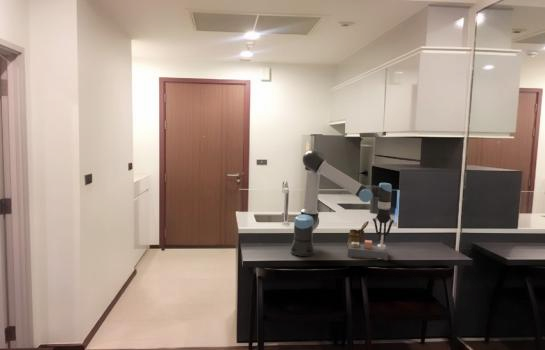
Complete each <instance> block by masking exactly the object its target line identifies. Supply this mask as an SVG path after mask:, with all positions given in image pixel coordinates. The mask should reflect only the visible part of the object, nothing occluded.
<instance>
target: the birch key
mask: <svg viewBox="0 0 545 350" xmlns="http://www.w3.org/2000/svg"><path fill="white" fill-rule="evenodd" d="M351 247H356V248H359V242H352V244H351Z"/></svg>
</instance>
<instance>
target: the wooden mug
mask: <svg viewBox="0 0 545 350" xmlns="http://www.w3.org/2000/svg"><path fill="white" fill-rule="evenodd" d="M369 223H370V222H369V221H365V222H364V223H363V224H362V226H361V228H360V229H350V230H349V232H348V239H347V243H346V247H347V248H348V246H349V243H352V242H359V244H361V242H362V240H363V238H364V236H365V228H367V227H368V225H369ZM360 235H361V236H360Z"/></svg>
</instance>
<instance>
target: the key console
mask: <svg viewBox="0 0 545 350" xmlns="http://www.w3.org/2000/svg"><path fill="white" fill-rule="evenodd" d="M351 244H352V243H349V246H348V247H347V257H351V256H354V258H360V257H366V258H365V259H370V258H381V259H389V248H388V246H386V245H385V250H377V246H378V245H374V244H372V249H366V248H364V245H365V243H364V244H363V243H360V244H359V248H356V247H351Z"/></svg>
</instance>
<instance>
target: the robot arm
mask: <svg viewBox="0 0 545 350" xmlns="http://www.w3.org/2000/svg"><path fill="white" fill-rule="evenodd" d="M326 159H327V157H326V154H325V153H324V152H323V151H322V150H321V149H319V148H318V149H317V148H315V149H314V148H313V149H311V150H307V151H306V152H305V153H303V156H302V163H303V165H304V166H305V167H304V170H305V171H306V181H305V191H304V201H303V208H302V209H301V210H300V214H298V215H297V216H295V218H294V220H293V223H294V225H293V226H294V227H293V241H292V244H291V247H290V254H291V253H292V254H291V255H293V254H294V255H293V256H296V255H298V256H297V257H301V256H308V257H312V256H314V255H315V252H316V251H315V247H314V242H313V236H314V235H313V234H314V230H316V229H317V228H318V227H319V223H320V217H319V213H320V212H319V210H318V199H319V192H320V181H321V180H320V179H321V175H322V176H323V177H325V178H327V179H328V180H330V181H332V182H333V183H335V184H336V185H338V186H340V188H343V189H345V191H348V193H351V194H353V196H355V197H357V198H358V199H359V200H360V201H361V202H363V203H368V202H369V201H370V202H371V200H372V199H377V201H378V202H377V211H376V216H375V217H372V221H373V223H374V229H375V233H376V235H378V240H379V241H380V243H379V244H380V246H383V245H384V241H386V236H389V234H390V231H391V229H392V225H393V224H394V222H395V220H394V219H393V218H392V217H391V205H392V204H391V203H392V189H393V188H392V187H393V186H392V184H391V183H389V182H388V183H387V182H379V184H378V185H368V184H362V183H360V182H359V181H358V180H357V181H356V179H354V178H352V177H351V176H349V175H347V174H345V173H344V172H343V171H341V170H339V169H337V168H336V167H334V166H333V165H330V164H329V163H328V162H327V160H326ZM377 221H378V223H379V229H378V225H377V224H378V223H377ZM388 222H389V224H388V227H387V223H388ZM382 226H383V227H382ZM382 228H383V229H382ZM382 230H383V233H382Z"/></svg>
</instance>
